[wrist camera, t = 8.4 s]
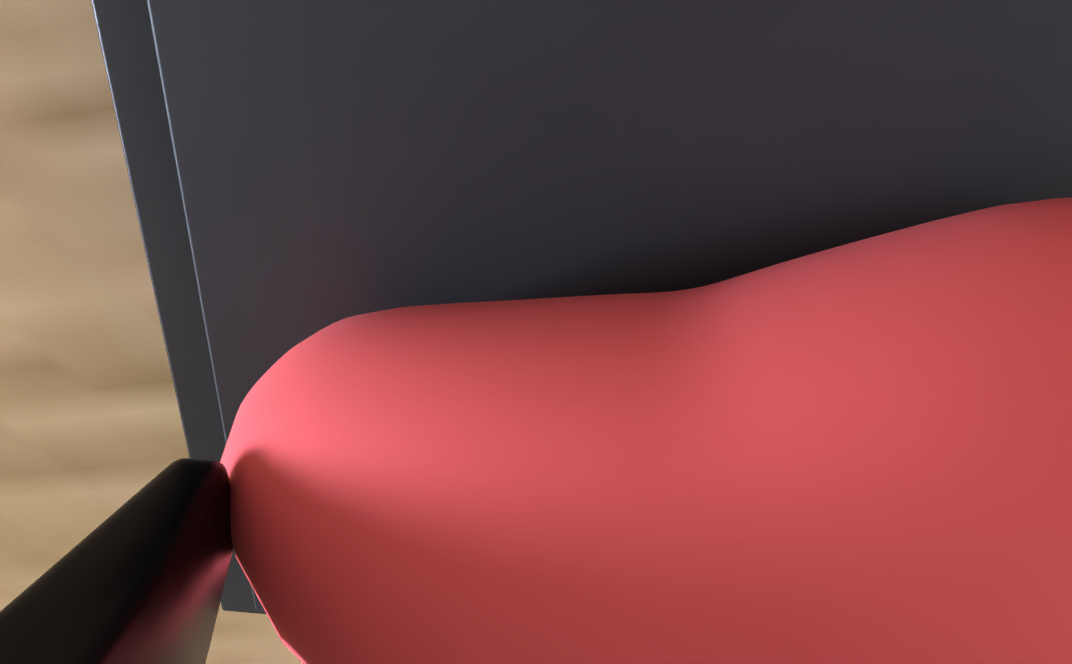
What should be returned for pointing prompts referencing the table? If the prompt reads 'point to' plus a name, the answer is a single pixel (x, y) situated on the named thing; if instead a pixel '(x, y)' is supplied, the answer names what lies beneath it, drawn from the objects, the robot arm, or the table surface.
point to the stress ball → (685, 466)
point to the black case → (545, 152)
